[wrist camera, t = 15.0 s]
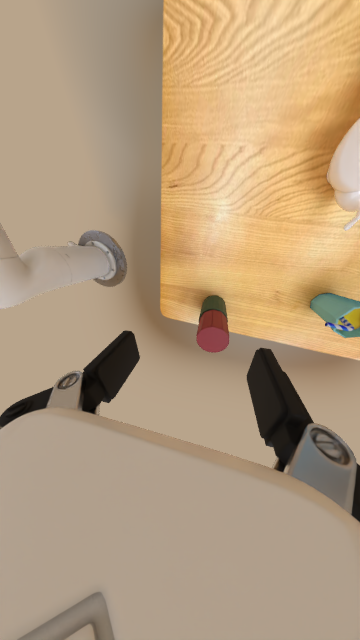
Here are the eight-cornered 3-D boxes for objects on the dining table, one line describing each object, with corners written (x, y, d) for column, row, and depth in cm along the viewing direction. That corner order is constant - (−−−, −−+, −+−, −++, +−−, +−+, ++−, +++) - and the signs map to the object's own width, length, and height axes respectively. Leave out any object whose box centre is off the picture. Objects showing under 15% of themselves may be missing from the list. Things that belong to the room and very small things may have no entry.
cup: (282, 310, 37) (316, 343, 25) (297, 283, 33) (346, 307, 21) (338, 319, 35) (407, 360, 22) (361, 291, 31) (461, 323, 18)
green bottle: (198, 308, 44) (191, 334, 31) (210, 291, 40) (207, 312, 27) (216, 319, 44) (216, 349, 31) (230, 303, 40) (236, 329, 27)
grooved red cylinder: (195, 324, 35) (190, 342, 28) (210, 304, 31) (208, 321, 25) (216, 336, 35) (215, 357, 29) (232, 318, 32) (236, 338, 25)
